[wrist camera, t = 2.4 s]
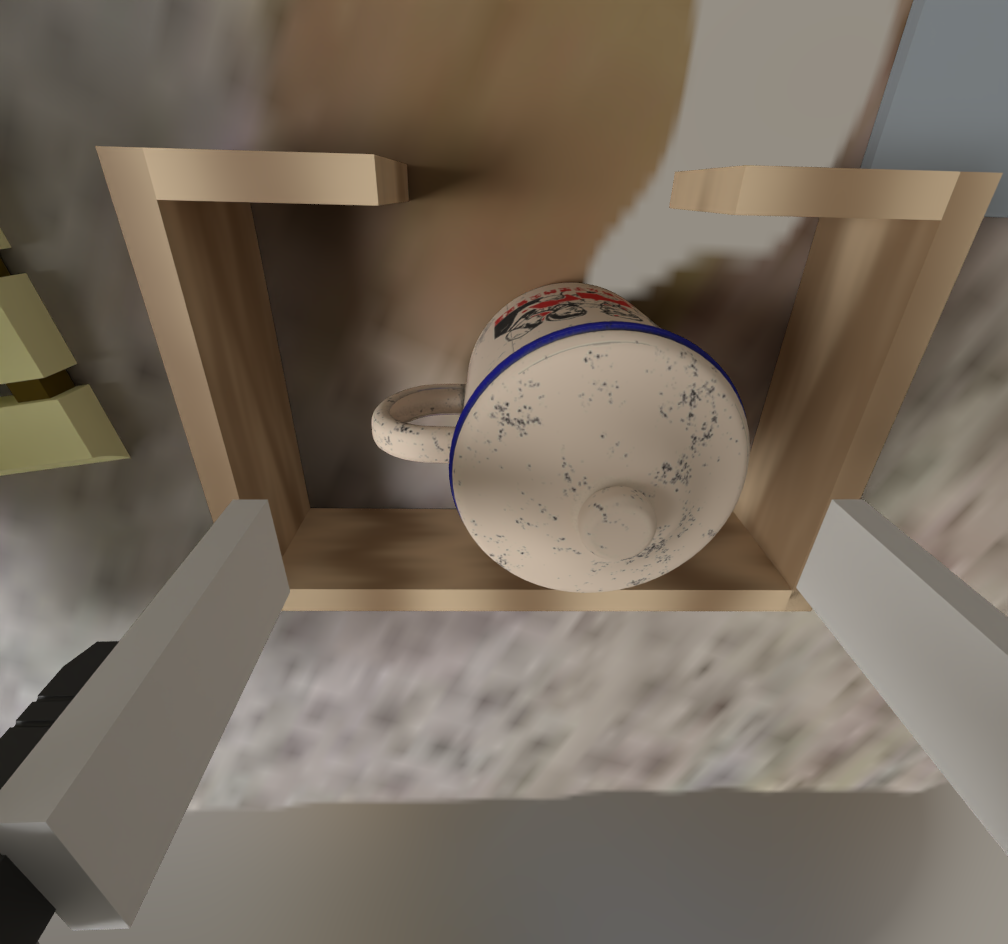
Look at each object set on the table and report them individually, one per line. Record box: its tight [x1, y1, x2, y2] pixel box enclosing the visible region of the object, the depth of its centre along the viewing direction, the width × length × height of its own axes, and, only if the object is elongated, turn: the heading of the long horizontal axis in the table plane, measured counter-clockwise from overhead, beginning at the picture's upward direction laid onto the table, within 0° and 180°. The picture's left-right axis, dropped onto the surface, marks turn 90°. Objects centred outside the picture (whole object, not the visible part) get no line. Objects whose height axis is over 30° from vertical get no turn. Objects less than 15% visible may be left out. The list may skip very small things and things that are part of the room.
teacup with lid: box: [372, 283, 750, 593], centre depth 18 cm, size 12×9×12 cm
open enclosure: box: [95, 146, 1003, 611], centre depth 20 cm, size 24×16×6 cm
